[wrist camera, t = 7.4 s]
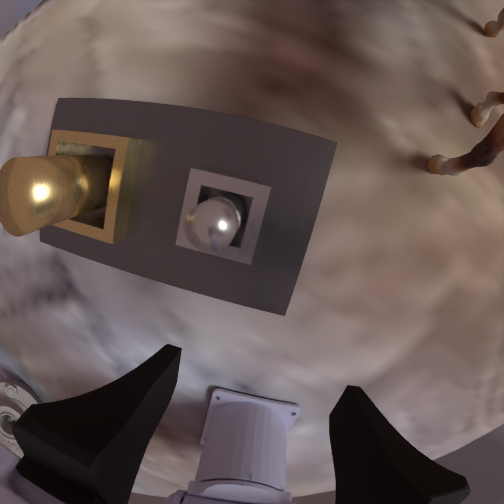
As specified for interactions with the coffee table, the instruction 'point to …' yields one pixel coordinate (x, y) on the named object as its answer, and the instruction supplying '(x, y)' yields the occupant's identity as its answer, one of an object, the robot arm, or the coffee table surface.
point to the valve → (13, 408)
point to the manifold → (195, 197)
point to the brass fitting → (51, 190)
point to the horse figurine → (494, 142)
